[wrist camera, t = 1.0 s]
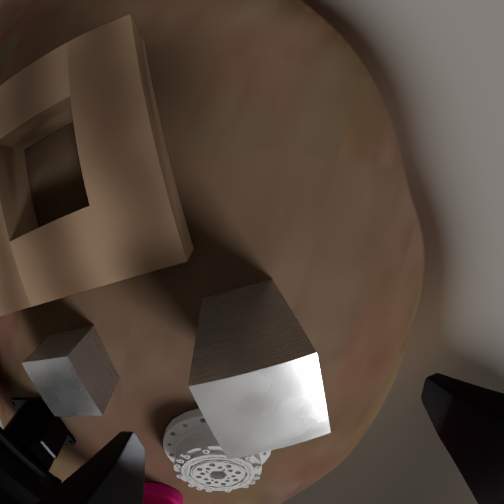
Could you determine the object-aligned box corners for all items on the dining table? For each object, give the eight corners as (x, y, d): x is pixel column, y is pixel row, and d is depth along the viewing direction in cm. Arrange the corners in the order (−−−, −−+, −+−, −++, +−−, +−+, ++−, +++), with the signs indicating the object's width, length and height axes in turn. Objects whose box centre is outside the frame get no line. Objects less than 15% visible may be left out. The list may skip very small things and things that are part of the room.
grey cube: (76, 382, 20) (54, 416, 15) (51, 334, 19) (21, 362, 14) (120, 377, 20) (102, 415, 15) (94, 324, 19) (67, 356, 14)
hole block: (23, 300, 18) (-4, 317, 14) (-12, 126, 15) (-40, 120, 11) (194, 248, 19) (187, 261, 15) (144, 41, 16) (130, 14, 12)
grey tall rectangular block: (223, 357, 21) (228, 459, 11) (202, 298, 20) (188, 386, 10) (287, 339, 21) (330, 432, 11) (272, 278, 20) (316, 352, 10)
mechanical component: (194, 387, 21) (149, 446, 22) (190, 423, 17) (142, 478, 18) (290, 426, 23) (234, 476, 24) (300, 459, 19) (237, 506, 20)
